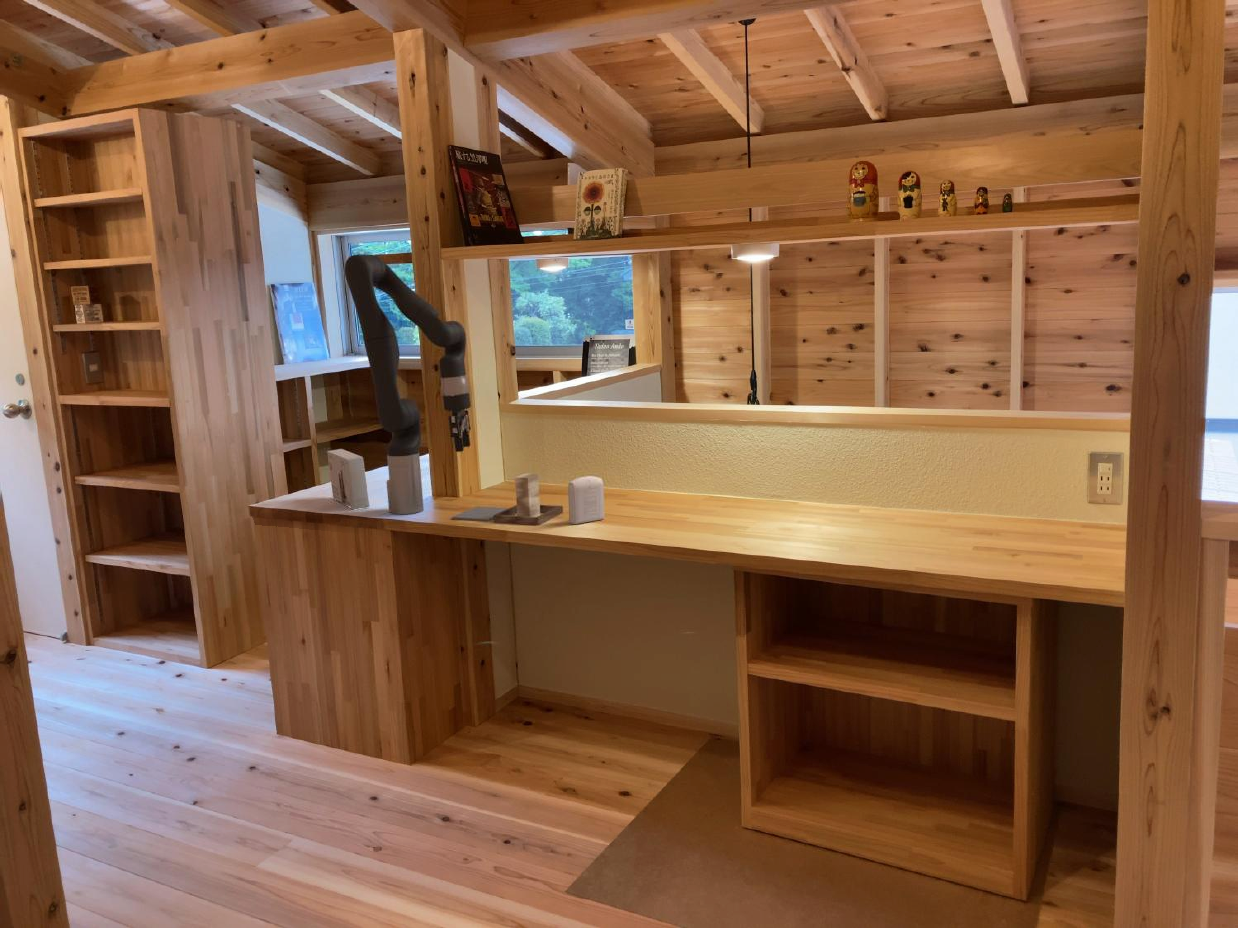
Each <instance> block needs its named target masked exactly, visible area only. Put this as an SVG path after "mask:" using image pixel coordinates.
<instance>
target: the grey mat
mask: <svg viewBox="0 0 1238 928" xmlns="http://www.w3.org/2000/svg"><path fill="white" fill-rule="evenodd" d="M509 508H510V507H496V506H481V505H478V506H475V507H473V508H469V509H468V510H464V511H463V512H460V513H459V514H458V513H457V514H456V515H453V516H451V520H455V519H463V520H462V521H471V520H479V521H478V522H488V521H489V522H491V521H494V516H493V515H495V514H498V513H500V512H502V511H504V510H506V509H509ZM490 520H491V521H490Z"/></svg>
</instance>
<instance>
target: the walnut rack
mask: <svg viewBox="0 0 1238 928" xmlns="http://www.w3.org/2000/svg"><path fill="white" fill-rule="evenodd" d="M563 507H564V506H563V505H554V504H553V505H552V504H551V505H550V504H540V513H542V514H540V516H538V517H528V516H517V504H515V505H512V506H511V507H508V508H509V509H506V510H504V511H502V512H500V513H498V514H495V515H493V516H494V519H493V523H499V524H515V525H527V526H528V525H529V526H540V525H542V524H544V523H546V522H547V521H550V520H551V519H554V518H556V517H557V516H559V515H561V514H563V513H564V508H563Z"/></svg>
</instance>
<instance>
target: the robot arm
mask: <svg viewBox="0 0 1238 928" xmlns="http://www.w3.org/2000/svg"><path fill="white" fill-rule="evenodd" d="M344 275H345V279H346V282H347V286H348V289H349V291H350V295H351V297H352V300H353V301H352V302H353V304H354V306H355V309H356V310H355V311H356V313H357V317H358V321H359V326H360V329H361V333H362V338H363V344H364V348H365V352H366V356H367V360H368V364H369V368H370V373H371V377H372V381H373V383H372V384H373V387H374V394H375V401H376V402H375V405H376V410H377V411H376V412H377V417H378V420H379V423H380V425H381V427H382V428H383V430H385V431H386V432H388V433H391V434H392V437H391V439H390V442H389V443H388V444H387V446H386V454H387V457H386V459H387V468H388V469H387V470H388V479H387V480H386V491H387V503H388V512H389V513H393V514H396V515H409V514H410V515H411V514H415V513H419V512H422V511H424V509H425V508H424V507H425V506H424V497H423V486H422V485H423V484H422V482H423V481H422V471H421V470H422V469H421V460H420V445H421V442H422V429H421V427H422V426H421V415H420V411H419V407H418V405H417V403H416V402H415V401H413V400H412V399H411V398H406V397H403V398H401V397H400V393H399V389H398V382H397V378H398V377H397V376H398V370H399V363H400V353H401V352H400V347H399V343H398V338H397V334H396V330H395V328H394V326H393V324H392V323H391V320H390V319H389V318H388V317H387V315H386V314H385V313H384V311H383V310H382V308H381V307H380V304H379V302H378V299H377V297H376V291H375V288H376V289H378V290H380V291H382V292H383V293H385V295H387V296H388V297H390V299H392V301H393V302H394V304H395V305H396V307H397V309H398V310H399V312H400V313H402V315H403V316H404V317H406V319H408V320H409V321H411V322H412V323H413V324H414V325H415V326H417V328H419V330H420V331H421V332H422V333H423V334H424V336H425V337H426V338H427V339H428V341H430V342H431V343H432V344H433V345H435V346H436V347H439V348H443V349H444V355H443V356H442V357H440V358H439V361H438V365H439V366H438V367H439V373H440V380H441V381H440V383H441V384H440V388H441V395H442V401H443V409H444V411H447V412H451V415H448V422H449V423H448V424H449V433H450V438H452V439H453V441H454V448H455V449H454V450H455V452H456V453H461V452H463V451H464V450H465V449H464V448H469V447H470V446H471V438H470V432H471V429H472V428H471V424H470V423H471V422H470V421H471V420H470V415H469V410H468V409H470V408H471V407H472V405H471V402H472V401H471V397H470V395H471V394H470V388H469V382H468V379H467V375H466V374H467V373H466V366H465V355H466V345H467V334H466V331H465V328H464V326H463V325H462V324H461V323H460V322H458V321H456V320H447V321H443V320H441V319H440V318H439V312H438V310H437V309H436V308H435V307H434V306H433V305H432V304H431V303H429V302H428V301H426V300H425V299H424V298H422V297H421V296H420V295H419V294H417V293H416V292H415V291H414V290H413V289H412V288H410V287H409V286H408V284H406V283H405V282H404V281H403V280H402V279H401V278H400V277H399V275H397V274H396V273H395V272H394V270H393V269H392V268H391V267H390V266H389V264H387V263H386V262H385V260H383V259H382V258H381V257H379V255H378V256H377V255H375V254H352V255H350V256H349V257H348V258H346V262H345V265H344Z"/></svg>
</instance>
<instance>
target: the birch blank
mask: <svg viewBox="0 0 1238 928" xmlns="http://www.w3.org/2000/svg"><path fill="white" fill-rule="evenodd" d="M514 481H515V482H514V484H515V485H514V486H515V497H516V505H517V513H516V516H528V517H538V516H540V515H541V512H540V505H541V504H540V489H539V488H540V487H539V474H538V473H523V474H521V475H518V476H516V477H514Z"/></svg>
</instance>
